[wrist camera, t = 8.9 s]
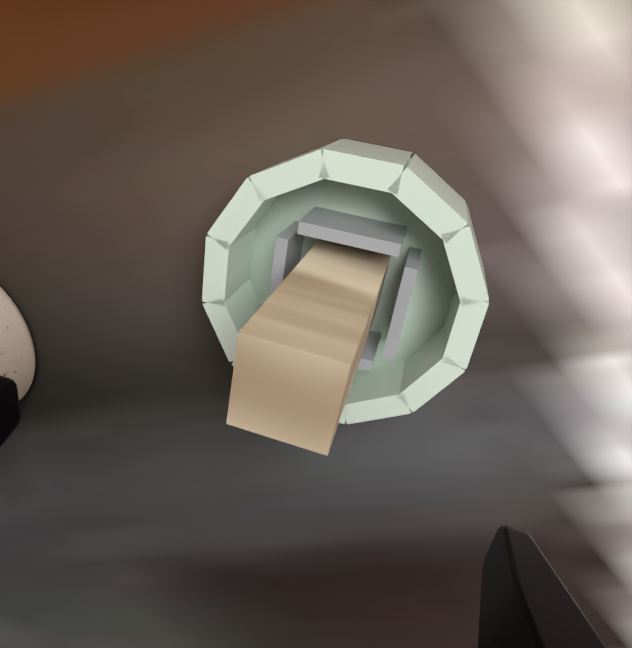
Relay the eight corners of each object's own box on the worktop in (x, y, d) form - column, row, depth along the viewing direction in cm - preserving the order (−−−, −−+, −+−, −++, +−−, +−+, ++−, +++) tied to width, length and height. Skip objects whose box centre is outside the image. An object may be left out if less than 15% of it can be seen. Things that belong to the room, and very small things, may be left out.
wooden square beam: (374, 317, 19) (327, 455, 12) (309, 299, 19) (226, 423, 12) (391, 253, 18) (351, 364, 11) (322, 236, 18) (238, 331, 11)
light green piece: (440, 400, 21) (438, 450, 18) (229, 344, 22) (196, 382, 19) (514, 172, 16) (527, 190, 14) (250, 120, 18) (212, 126, 15)
